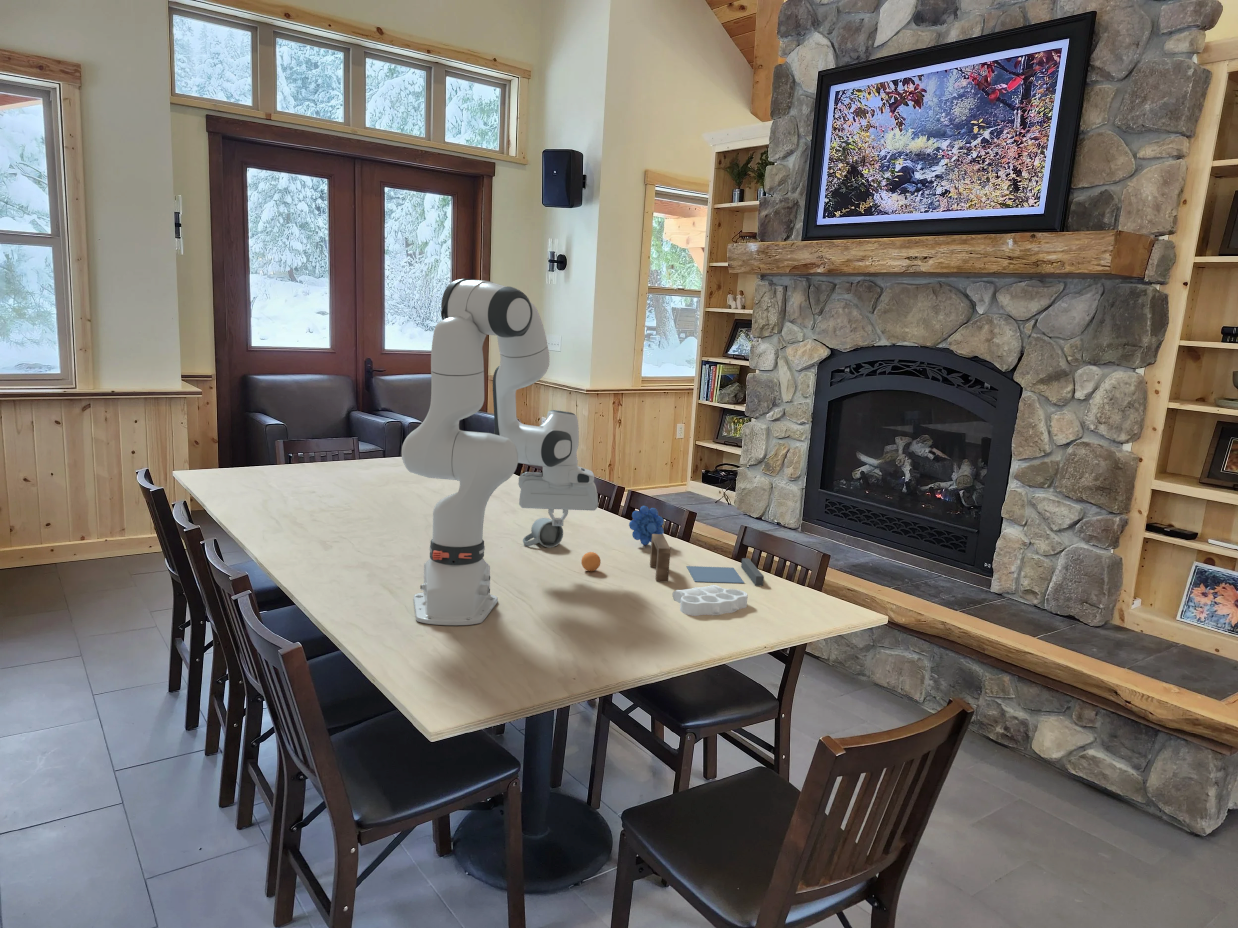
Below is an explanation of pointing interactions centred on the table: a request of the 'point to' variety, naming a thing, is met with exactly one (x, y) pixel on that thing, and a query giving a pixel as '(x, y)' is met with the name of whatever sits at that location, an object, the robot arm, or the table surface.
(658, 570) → the bridge
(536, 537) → the ceramic mug
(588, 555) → the ball
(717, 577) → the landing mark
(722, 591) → the white paint palette
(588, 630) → the table surface
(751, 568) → the rail
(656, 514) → the blue flower
